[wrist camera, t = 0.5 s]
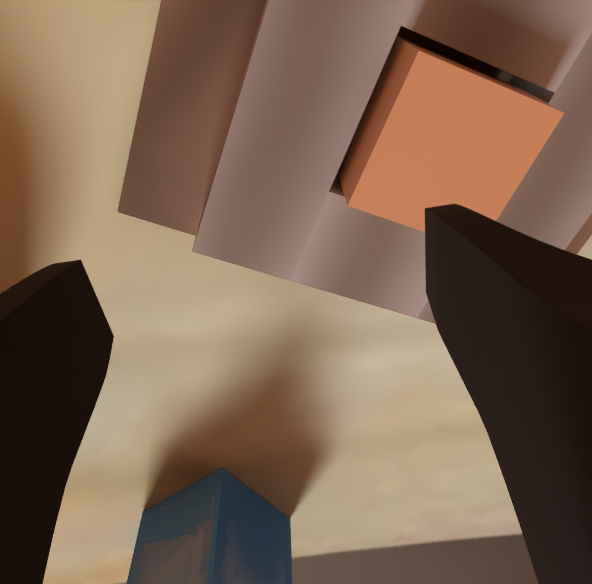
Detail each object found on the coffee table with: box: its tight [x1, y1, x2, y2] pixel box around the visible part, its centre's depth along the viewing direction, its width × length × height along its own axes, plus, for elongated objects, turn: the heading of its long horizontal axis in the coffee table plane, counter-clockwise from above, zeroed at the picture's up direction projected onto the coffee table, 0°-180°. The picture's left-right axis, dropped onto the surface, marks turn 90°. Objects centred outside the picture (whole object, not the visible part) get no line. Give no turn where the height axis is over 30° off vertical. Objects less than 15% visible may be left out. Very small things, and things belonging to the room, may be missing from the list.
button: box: [337, 35, 564, 232], centre depth 16 cm, size 4×4×3 cm
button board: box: [118, 0, 592, 324], centre depth 17 cm, size 18×14×4 cm
